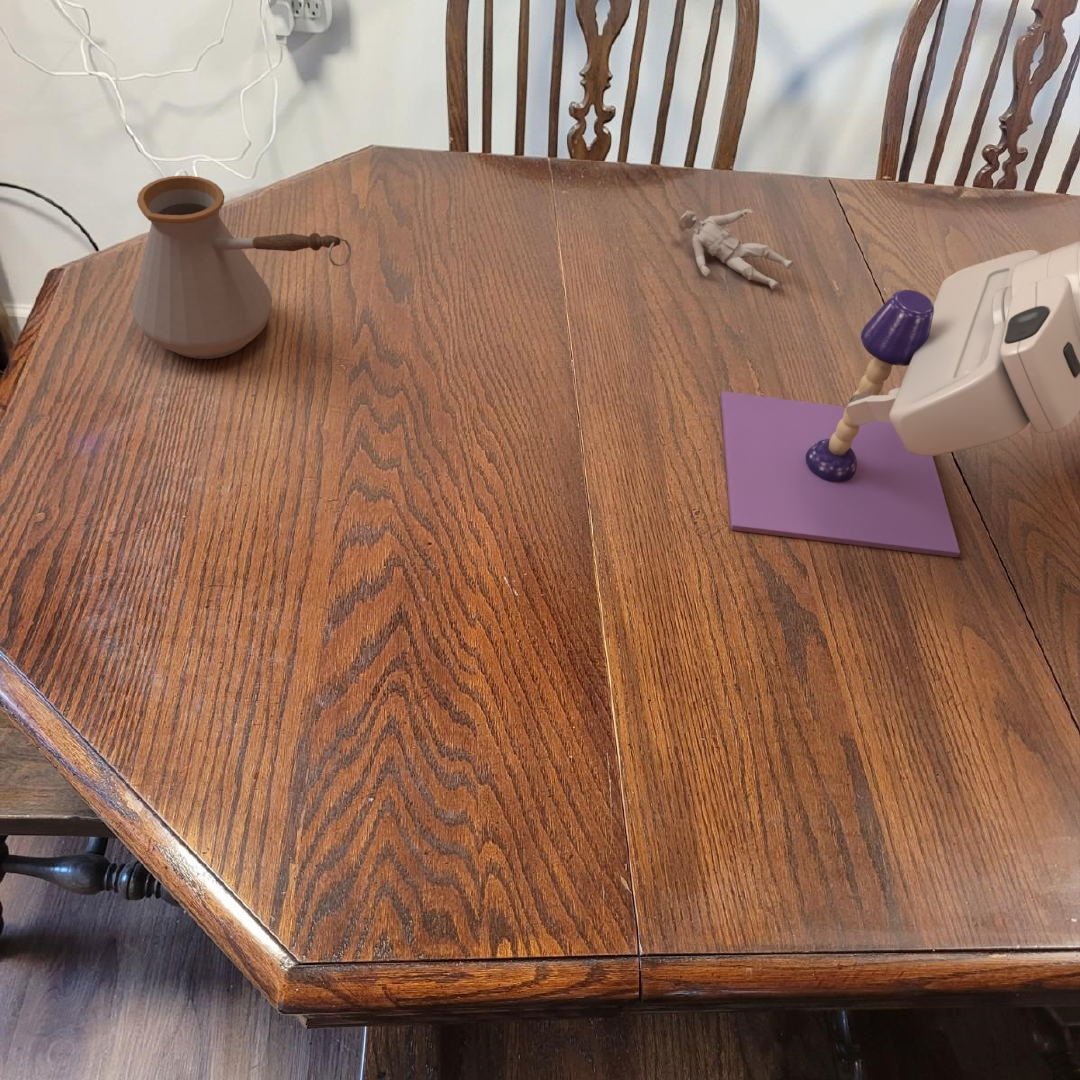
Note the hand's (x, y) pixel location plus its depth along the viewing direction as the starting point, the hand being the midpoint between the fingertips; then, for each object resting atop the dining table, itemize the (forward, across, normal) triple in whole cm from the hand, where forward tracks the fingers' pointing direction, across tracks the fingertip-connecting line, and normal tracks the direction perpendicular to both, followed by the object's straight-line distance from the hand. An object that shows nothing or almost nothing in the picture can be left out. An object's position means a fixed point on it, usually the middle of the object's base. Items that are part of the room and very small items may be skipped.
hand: (865, 379), depth 71 cm
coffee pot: (+41, +14, -27) cm, 51 cm away
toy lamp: (+6, 0, +7) cm, 9 cm away
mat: (+6, 0, +7) cm, 10 cm away
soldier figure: (+19, -24, -5) cm, 31 cm away
